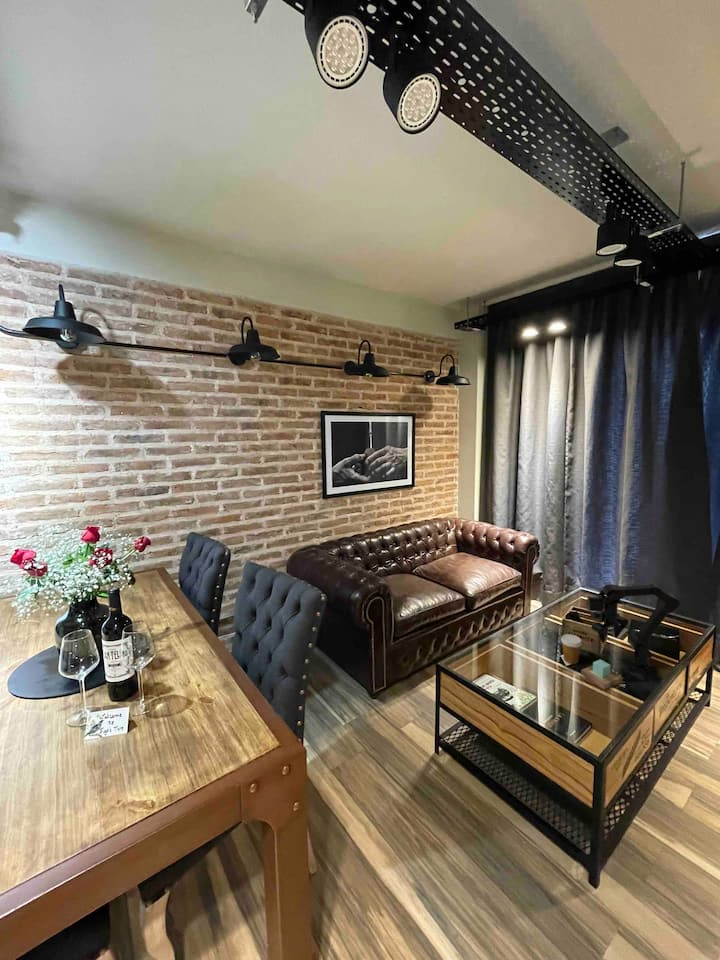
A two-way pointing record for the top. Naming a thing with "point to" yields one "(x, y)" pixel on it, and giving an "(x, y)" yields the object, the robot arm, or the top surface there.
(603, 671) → the teal cube
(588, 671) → the walnut base
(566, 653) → the disposable coffee cup
